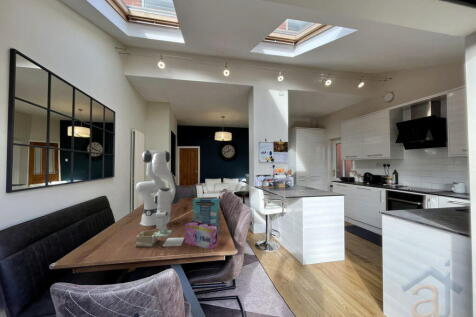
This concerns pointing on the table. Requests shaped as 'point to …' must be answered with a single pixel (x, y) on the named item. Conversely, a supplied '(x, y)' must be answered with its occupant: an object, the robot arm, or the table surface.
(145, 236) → the box
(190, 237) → the gum box
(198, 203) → the game box
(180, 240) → the mat
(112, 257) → the table surface
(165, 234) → the lid
